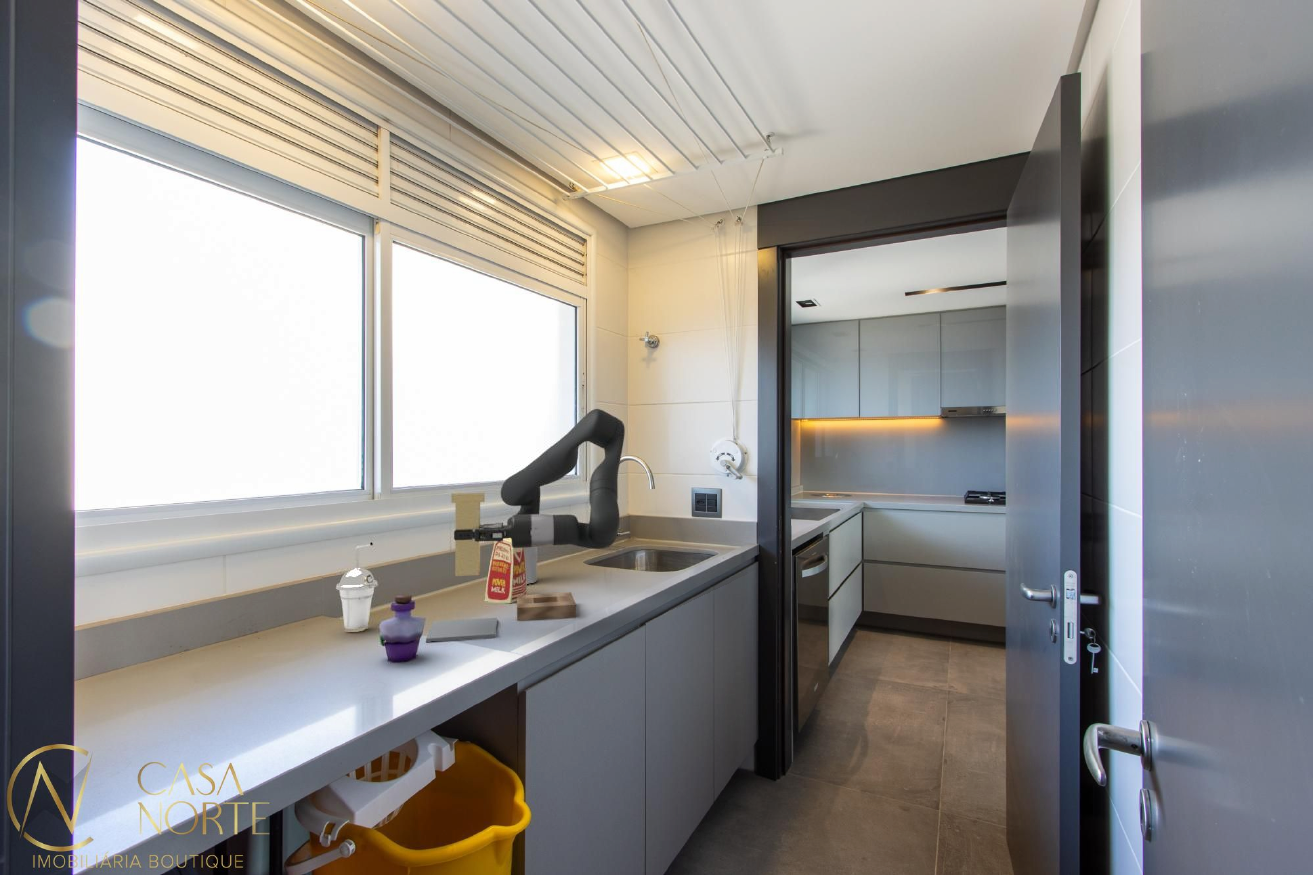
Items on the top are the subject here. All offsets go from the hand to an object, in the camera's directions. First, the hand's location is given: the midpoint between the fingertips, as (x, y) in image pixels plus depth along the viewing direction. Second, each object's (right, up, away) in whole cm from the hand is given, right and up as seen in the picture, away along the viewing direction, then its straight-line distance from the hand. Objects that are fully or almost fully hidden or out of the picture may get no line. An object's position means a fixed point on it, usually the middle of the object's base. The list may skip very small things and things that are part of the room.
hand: (455, 533), depth 134 cm
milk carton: (+4, -23, +31) cm, 39 cm away
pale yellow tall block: (+3, -9, 0) cm, 9 cm away
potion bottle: (-4, -21, -19) cm, 29 cm away
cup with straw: (-22, -22, 0) cm, 31 cm away
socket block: (+17, -22, +17) cm, 33 cm away
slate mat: (+2, -22, 0) cm, 22 cm away
